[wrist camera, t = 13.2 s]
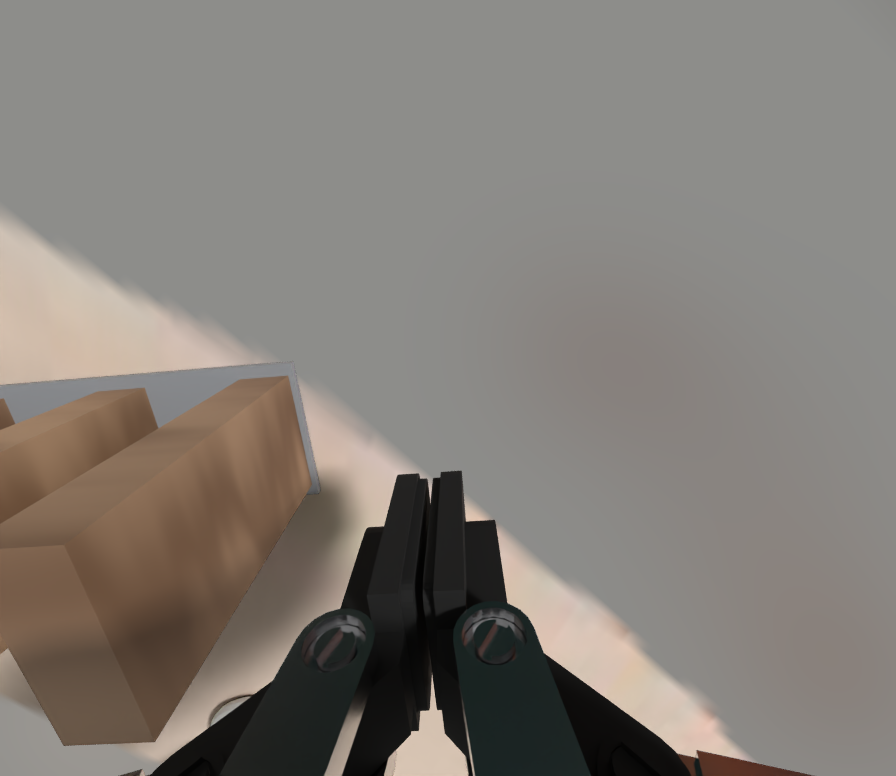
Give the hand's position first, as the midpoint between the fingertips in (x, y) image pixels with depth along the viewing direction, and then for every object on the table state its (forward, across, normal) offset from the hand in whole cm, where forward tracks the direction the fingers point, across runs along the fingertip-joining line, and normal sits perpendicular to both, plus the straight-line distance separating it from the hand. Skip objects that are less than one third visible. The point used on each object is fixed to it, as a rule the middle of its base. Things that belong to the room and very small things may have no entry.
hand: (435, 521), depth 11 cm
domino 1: (+7, +7, 0) cm, 10 cm away
